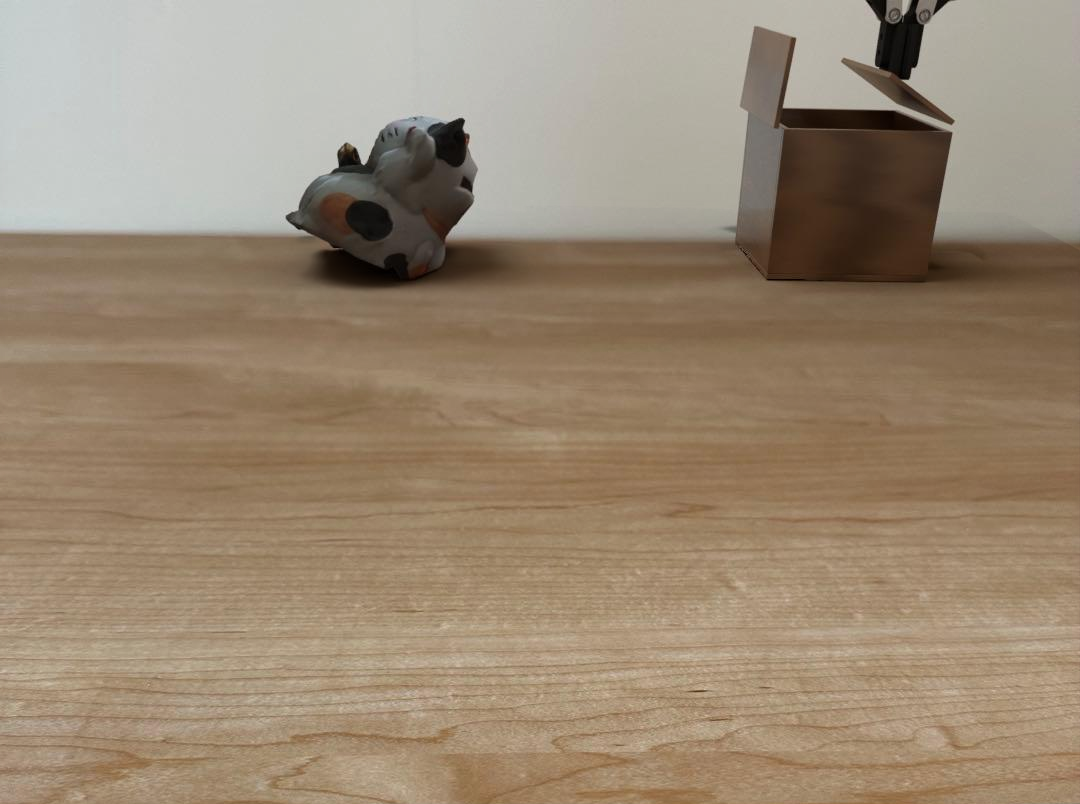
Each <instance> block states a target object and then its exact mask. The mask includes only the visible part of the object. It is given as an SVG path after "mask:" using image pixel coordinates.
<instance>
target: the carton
mask: <svg viewBox="0 0 1080 804" xmlns="http://www.w3.org/2000/svg"><path fill="white" fill-rule="evenodd" d="M751 36H752V37H751V42H750V47H749V48H750V49H749V54H748V57H747V64H746V69H745V75H744V81H743V86H742V91H741V97H740V103H739V107H740V108H741V109H743V110H744V111H746V112H747V119H746V120H747V121H746V130H745V139H744V140H745V141H744V150H743V152H744V153H743V160H742V169H741V179H740V180H741V181H740V190H739V198H738V199H739V200H738V208H737V218H736V226H735V237H734V238H735V239H734V243H735V244H736V245H737V244H738V245H739V246H741V247H742V248H743V250H744V251H745V252H746V253H747V255H748V256H749V257H750V259H751V260H752V261H753V262H754V264H755V265H756V266H755V265H754V264H753V265H754V266H755V268H756V267H757V268H758V269H759V270H760V271H759V270H758V269H757V268H756V269H757V270H758V271H759V273H760V274H761V273H762V274H763V275H764V276H763V275H762V274H761V275H762V276H763V277H764V278H765V280H766V279H807V280H806V281H819V280H824V281H826V280H827V281H828V282H831V281H832V282H836V281H837V282H898V283H899V282H900V283H901V282H905V283H906V282H907V283H910V282H912V283H914V282H915V283H925V282H926V280H927V275H928V270H929V263H930V259H931V254H932V248H933V242H934V238H935V237H934V236H935V231H936V226H937V220H938V215H939V210H940V204H941V199H942V198H941V197H942V193H943V188H944V184H945V183H944V181H945V177H946V171H947V166H948V160H949V156H950V151H951V144H952V138H953V133H954V132H953V131H950V130H948V129H945V128H943V127H941V126H938V125H935V124H934V123H931V122H928V121H926V120H923V119H921V118H919V117H916V116H914V115H911V114H908V113H907V112H904V111H901V110H898V109H867V108H866V109H864V108H861V109H860V108H822V107H821V108H820V107H818V108H817V107H815V108H813V107H812V108H810V107H784V104H785V99H786V94H787V87H788V83H789V78H790V73H791V68H792V63H793V58H794V54H795V47H796V42H797V37H795V36H792V35H789V34H784V33H783V32H779V31H776V30H772V29H769V28H765V27H762V26H760V25H759V26H758V25H754V26H753V30H752V35H751ZM738 245H737V246H738ZM739 246H738V247H739ZM750 259H749V260H750ZM830 280H831V281H830ZM827 281H826V282H827Z"/></svg>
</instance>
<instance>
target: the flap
mask: <svg viewBox="0 0 1080 804" xmlns="http://www.w3.org/2000/svg"><path fill="white" fill-rule="evenodd" d="M840 63H841V64H843V65H844V66H845V67H847V68H848V69H849V70H850V71H852V72H853V73H855V74H856V75H857V76H859V77H860V78H861V79H863V80H864V81H865V82H867V83H868V84H869V85H871V86H872V87H874V88H875V89H876V90H877V91H879V92H880V93H882V94H883V95H884V96H885V97H887V98H888V99H890V100H891V101H892V102H893V103H895V104H896V105H897V106H901V107H904V108H906V109H909V110H911V111H914V112H917V113H919V114H921V115H924V116H926V117H929V118H932V119H935V120H937V121H940V122H942V123H944V124H947V125H950V126H952V125H953V124H954V123H955V122H956V120H955V119H954V118H952V117H951V116H950V115H948V114H947V113H945V112H944V111H943V110H942V109H940V108H939V107H938V106H936V105H935V104H934V103H933V102H931V101H930V100H928V99H927V98H926V97H925V96H924V95H922V94H921V93H919V92H918V91H916V90H915V89H914V88H913V87H912V86H910V85H909V84H908V83H906V82H905V81H904V80H901V79H900V78H898V77H897V76H896V75H894V74H893V73H891V72H887V71H884V70H881V69H879V67H876V66H872V65H869V64H865V63H863V62H859V61H856V60H852V59H849V58H846V57H842V58H841V60H840Z"/></svg>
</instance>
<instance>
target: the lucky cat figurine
mask: <svg viewBox="0 0 1080 804" xmlns="http://www.w3.org/2000/svg"><path fill="white" fill-rule="evenodd" d="M465 124H466V120H465V118H464V117H458V118H455V119H454V120H453V119H452V120H451V121H448V120H447V121H446V120H443V119H439V118H435V117H432V116H423V115H416V116H411V117H408V118H401V119H396V120H392V121H391V122H389V123H387V124H386V125H385V127H384V128H382V129H380V131H379V133H378V135H377V138H375V140H374V144H373V146H372V148H371V150H370V153H369V155H368V158H367V160H366V162H365V164H363V163H362V159H361V157H360V154H359V150H358V148H357V147H356V146H354V145H352V144H351V143H349V142H344V143H343V145H341V146H340V148H339V149H338V150H337V152H336V157H337V163H338V166H337V167H335V168H334V169H333V170H332V171H330V172H329V173H326V174H322V175H319V176H318V177H316V178H315V179H313V180H312V181H311V182H310V183H309V185H308V186H307V187H306V189H304V192H303V194H302V196H301V198H300V200H299V203H298V210H295V211H290V213H288V214H286V215H285V220H286V221H287V222H288V223H289V224H290V225H291V226H293V227H295V229H297V231H304V232H306V233H307V234H309V235H311V236H314V237H316V238H318V239H320V240H322V241H324V242H326V243H328V244H329V245H330V247H331V248H332V249H334V248H342V249H341V250H343V251H345V252H347V253H348V254H350V255H352V256H354V257H355V258H357V259H359V260H362V261H364V262H367V263H368V264H371V265H373V266H376V267H378V268H380V269H383V270H384V271H387V270H389V269H392V268H393V269H394V271H395V272H396V274H397V275H398V276H399V278H400V279H401V280H414V279H415V278H418V277H421V276H423V275H426V274H428V273H431V272H433V271H435V270H437V269H439V268H441V267H442V266H443V263H444V261H445V258H446V239H447V236H449V234H450V232H451V231H452V229H453V228H454V227H455V226H457V225H458V224H459V222H460V220H461V219H462V218H463V217H464V215H466V213H467V212H468V210H470V208H471V207H472V206H473V205H474V203H475V195H474V192H473V191H474V182H475V179H476V177H477V173H478V171H479V167H478V166H477V163H476V162H475V161H474V159H473V157H472V155H471V151H470V149H469V146H468V145H469V144H470V140H471V139H470V138H471V136H470V134H469V133H467V132H466V131H465V128H464V126H465Z"/></svg>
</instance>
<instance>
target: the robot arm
mask: <svg viewBox="0 0 1080 804" xmlns="http://www.w3.org/2000/svg"><path fill="white" fill-rule="evenodd" d="M955 1H956V0H908V4H907V7H906V10H905V13H904V14H903V0H865V2H866V3H867V5H868V6H869V7H870V9H871V10H872V12H873V13H874V14H875V17H876V20H877V21H878V22H879V23H880V24H879V29H878V35H877V36H878V37H877V43H876V49H875V55H874V67H875V68H878V69H881V70H884V71H887V72H891V73H893V74H894V75H896V76H897V77H898V78H900V79H901V80H902V81H910V79H911V76H912V70H913V69H916V68H917V66H918V64H919V61H920V60H919V59H920V54H921V47H922V42H923V36H924V29H925V25H927V24H929V23H930V22H931V21H932V18H933V17H934V16H935V15H936V14H937V13H939V11H940V10H941V9H943V7H944V6H945V5H947V4H948V3H950V2H955Z"/></svg>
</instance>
